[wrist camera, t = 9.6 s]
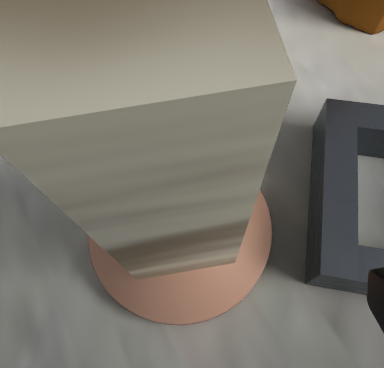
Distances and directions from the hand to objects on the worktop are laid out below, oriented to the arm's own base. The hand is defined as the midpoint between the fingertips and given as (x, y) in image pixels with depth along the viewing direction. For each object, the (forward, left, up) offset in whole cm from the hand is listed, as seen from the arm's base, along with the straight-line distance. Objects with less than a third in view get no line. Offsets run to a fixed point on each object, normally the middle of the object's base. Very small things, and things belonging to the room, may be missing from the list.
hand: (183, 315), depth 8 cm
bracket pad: (+4, -2, -9) cm, 10 cm away
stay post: (+4, -2, -8) cm, 9 cm away
